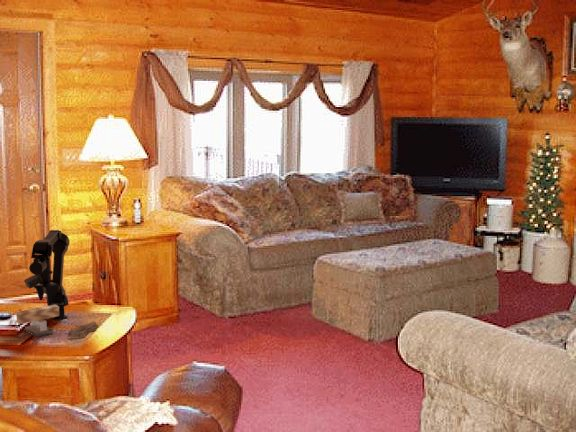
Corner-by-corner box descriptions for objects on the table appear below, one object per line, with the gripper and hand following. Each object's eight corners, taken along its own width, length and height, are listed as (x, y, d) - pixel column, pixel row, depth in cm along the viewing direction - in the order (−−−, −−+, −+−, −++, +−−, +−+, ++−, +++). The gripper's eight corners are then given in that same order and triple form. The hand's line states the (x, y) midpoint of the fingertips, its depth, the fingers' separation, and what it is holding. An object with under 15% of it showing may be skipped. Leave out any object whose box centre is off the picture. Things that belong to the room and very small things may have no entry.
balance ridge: (24, 330, 323) (23, 317, 322) (41, 326, 328) (41, 314, 327) (35, 336, 314) (35, 323, 313) (53, 333, 320) (52, 320, 319)
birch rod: (55, 313, 328) (55, 304, 327) (59, 315, 325) (59, 306, 324) (16, 321, 316) (16, 311, 315) (20, 323, 313) (20, 314, 312)
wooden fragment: (80, 341, 311) (80, 338, 310) (57, 339, 313) (57, 336, 313) (107, 323, 335) (107, 321, 335) (86, 322, 338) (86, 319, 338)
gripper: (17, 267, 321) (19, 301, 324) (34, 276, 307) (36, 310, 310) (41, 263, 328) (43, 296, 331) (59, 272, 315) (60, 306, 317)
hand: (45, 302), depth 322 cm, fingers open, 9 cm apart
